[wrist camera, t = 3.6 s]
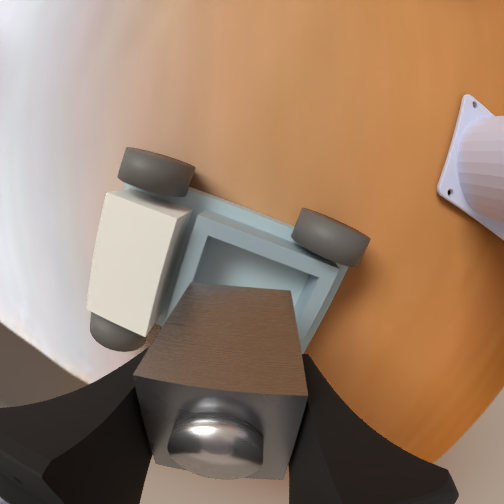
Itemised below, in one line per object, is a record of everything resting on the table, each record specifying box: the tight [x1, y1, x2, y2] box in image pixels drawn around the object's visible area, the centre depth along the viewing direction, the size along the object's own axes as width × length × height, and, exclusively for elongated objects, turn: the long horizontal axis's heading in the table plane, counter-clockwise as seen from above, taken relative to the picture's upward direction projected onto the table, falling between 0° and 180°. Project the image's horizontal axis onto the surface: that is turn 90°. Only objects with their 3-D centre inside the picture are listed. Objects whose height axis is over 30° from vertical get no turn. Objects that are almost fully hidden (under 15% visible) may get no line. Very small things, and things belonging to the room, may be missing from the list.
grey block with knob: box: [133, 282, 308, 480], centre depth 9 cm, size 4×4×7 cm
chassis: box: [86, 147, 370, 354], centre depth 16 cm, size 14×12×4 cm
